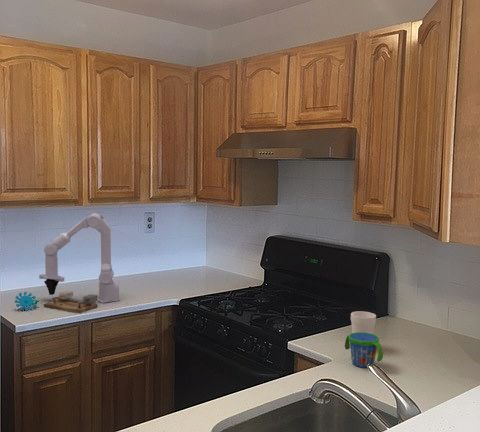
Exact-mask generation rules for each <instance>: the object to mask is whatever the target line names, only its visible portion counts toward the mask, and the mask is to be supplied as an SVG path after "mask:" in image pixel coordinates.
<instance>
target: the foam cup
mask: <svg viewBox="0 0 480 432" xmlns="http://www.w3.org/2000/svg"><path fill="white" fill-rule="evenodd" d="M376 321H377V315H376V314H375V313H373V312H369V311H359V310H358V311H352V312H351V313H350V322H351V323H350V324H351V330H352V331H351V334H352V333H357V332H364V333H370V334H374V330H375V325H376Z"/></svg>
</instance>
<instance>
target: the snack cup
mask: <svg viewBox="0 0 480 432" xmlns="http://www.w3.org/2000/svg"><path fill="white" fill-rule="evenodd" d="M344 348H345V350H350V356H351V363H352V365H354V366H356V367H359V368H368V367H367V365H368V364H373V365H374V364H375V360H377V362H381V361H382V360H383V357H384V354H383V348H382V345H381V343H380V337H379V336H377V335H376V334H374V333H373V334H370V333H364V332H357V333H352V332H351V333H350V334H348V335H346V338H345V342H344ZM376 354H377V358H376Z"/></svg>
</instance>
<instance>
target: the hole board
mask: <svg viewBox="0 0 480 432" xmlns="http://www.w3.org/2000/svg"><path fill="white" fill-rule="evenodd" d="M43 308H46V309H51V310H52V309H53V310H59V311H65V312H70V313H75V314H83V313H86V312H88V311H91V310H93V309H94V310H95V309H96V308H98V303H96V304H95V305H92V306H90V305H84V304H80V307H79V304H77V303H72V302H66V301H60V300H57V299H56V303H54V300H53V301H50V302H46V303H45V302H44V303H43Z"/></svg>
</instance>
